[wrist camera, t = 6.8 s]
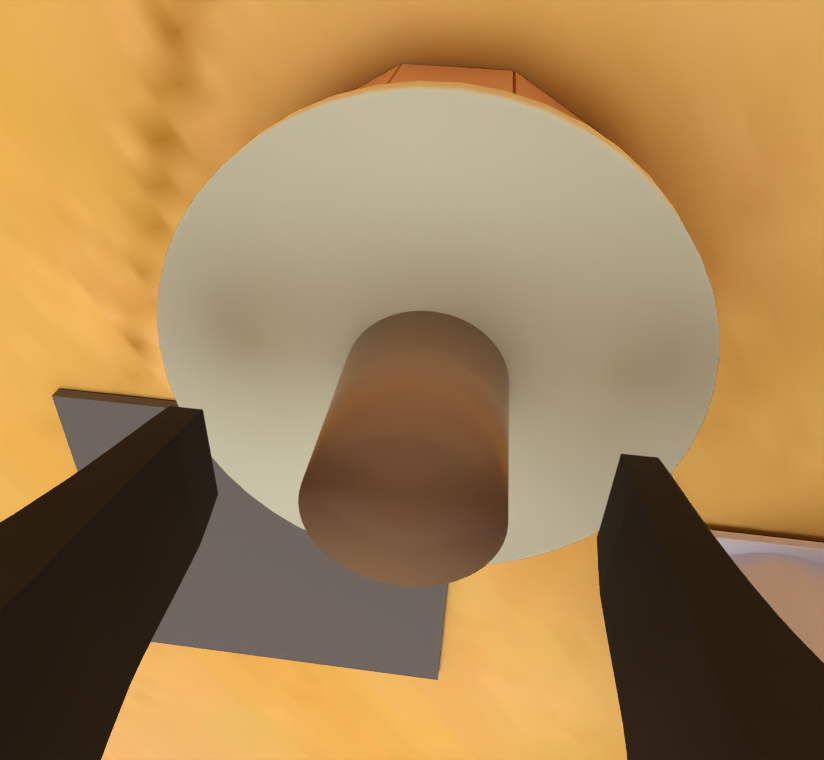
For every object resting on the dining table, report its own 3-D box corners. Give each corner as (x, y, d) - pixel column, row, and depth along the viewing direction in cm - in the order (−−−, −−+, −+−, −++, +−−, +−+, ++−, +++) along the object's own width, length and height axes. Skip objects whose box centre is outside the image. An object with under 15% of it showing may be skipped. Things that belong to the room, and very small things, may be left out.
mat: (463, 431, 22) (462, 438, 22) (438, 671, 30) (437, 679, 30) (58, 388, 23) (52, 395, 23) (138, 631, 31) (135, 639, 31)
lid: (808, 121, 12) (958, 231, 8) (624, 571, 19) (654, 748, 15) (132, 45, 12) (-45, 111, 8) (200, 508, 19) (120, 662, 15)
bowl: (674, 80, 16) (724, 134, 12) (591, 419, 21) (608, 525, 18) (251, 54, 16) (175, 97, 13) (282, 388, 22) (237, 484, 18)
